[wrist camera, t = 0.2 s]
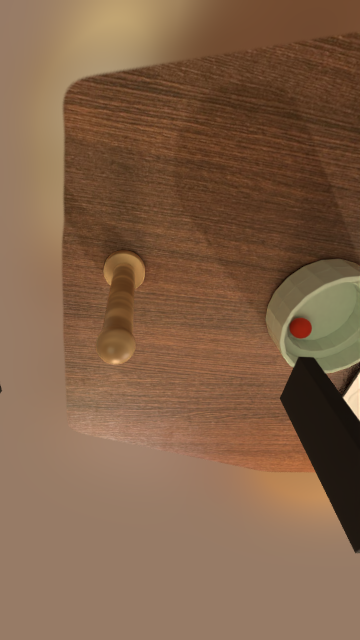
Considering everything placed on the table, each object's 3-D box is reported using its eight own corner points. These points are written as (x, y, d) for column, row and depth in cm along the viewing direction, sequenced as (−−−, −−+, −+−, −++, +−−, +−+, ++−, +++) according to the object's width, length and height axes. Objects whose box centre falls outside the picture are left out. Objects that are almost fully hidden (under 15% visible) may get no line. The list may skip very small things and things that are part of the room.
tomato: (301, 310, 44) (310, 321, 41) (309, 323, 45) (319, 334, 42) (282, 321, 44) (291, 333, 42) (291, 334, 46) (300, 346, 43)
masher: (125, 241, 36) (115, 319, 22) (153, 271, 39) (159, 358, 24) (95, 266, 37) (67, 355, 23) (123, 294, 40) (113, 389, 25)
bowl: (346, 234, 39) (377, 250, 34) (380, 311, 46) (409, 334, 41) (245, 302, 42) (259, 325, 37) (291, 363, 50) (308, 389, 45)
